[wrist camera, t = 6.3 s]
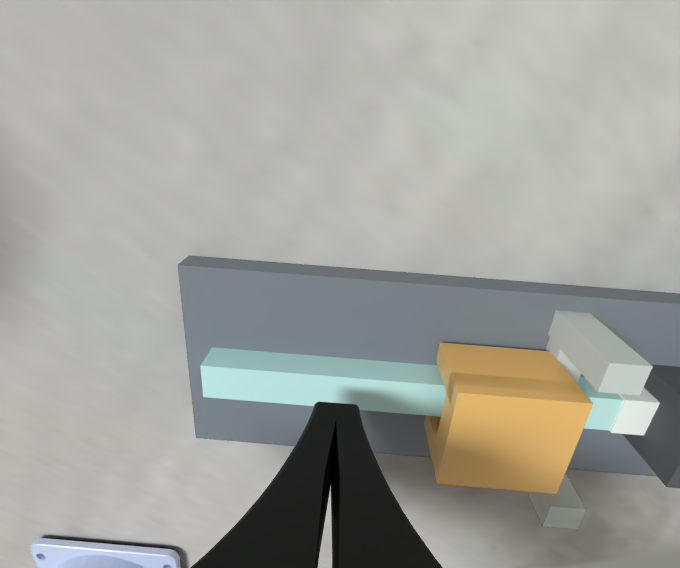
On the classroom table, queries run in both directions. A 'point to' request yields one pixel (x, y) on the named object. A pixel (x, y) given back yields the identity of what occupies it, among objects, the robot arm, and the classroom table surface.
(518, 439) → the sleeve
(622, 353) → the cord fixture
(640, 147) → the classroom table surface
